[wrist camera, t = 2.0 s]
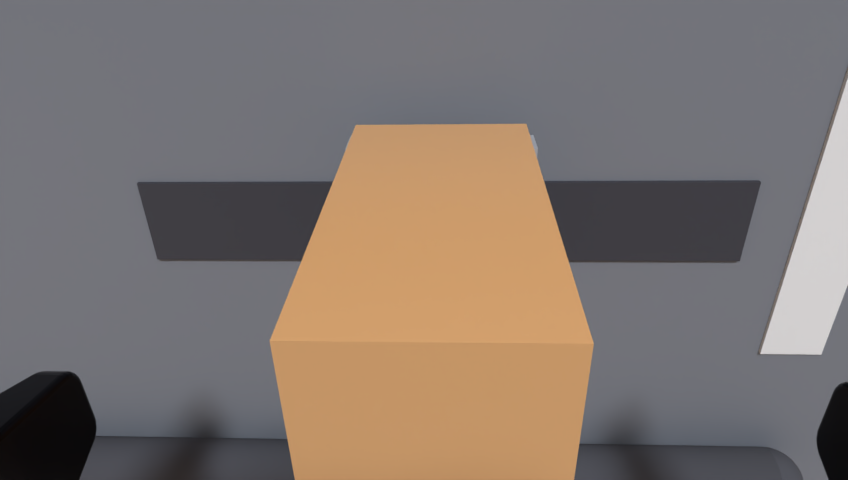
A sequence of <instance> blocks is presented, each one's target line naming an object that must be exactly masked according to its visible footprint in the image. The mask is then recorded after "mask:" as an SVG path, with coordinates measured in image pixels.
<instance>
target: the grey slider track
mask: <svg viewBox="0 0 848 480" xmlns="http://www.w3.org/2000/svg"><path fill="white" fill-rule="evenodd" d="M79 480H295V478H294V472H293V467H292V461H291V456H290V450H289V445H288V439H254V438H192V437H129V436H95V440H94V443H93V446H92V448H91V451H90V453H89V456H88V458H87V461H86V464H85V466H84V469H83V471H82V474H81V477H80V479H79ZM574 480H803V477H802V474H801V471H800V470H799V468H798V466H797V465H796V464H795V463H794V461H793V460H792V459H791V458H789V457H788V456H787V455H785V454H784V453H782V452H780V451H778V450H776V449H772V448H769V447H752V446H690V445H628V444H579V449H578V456H577V463H576V470H575V477H574Z"/></svg>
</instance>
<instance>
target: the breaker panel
mask: <svg viewBox="0 0 848 480" xmlns="http://www.w3.org/2000/svg"><path fill="white" fill-rule="evenodd" d="M412 124H527V127H528V131H529V134H530V135H534V138H535V141H536V144H537V147H538V153H537V160H538V163H539V167H540V170H541V173H542V176H543V180H544V183H545V186H546V189H547V193H548V196H549V199H550V202H551V206H552V209H553V212H554V215H555V219H556V222H557V225H558V229H559V232H560V235H561V238H562V242H563V245H564V248H565V251H566V255H567V258H568V261H569V264H570V268H571V271H572V274H573V277H574V281H575V284H576V287H577V291H578V294H579V297H580V300H581V304H582V307H583V310H584V313H585V317H586V320H587V323H588V326H589V330H590V333H591V336H592V339H593V343H594V346H593V353H592V360H591V367H590V374H589V381H588V387H587V394H586V401H585V408H584V415H583V422H582V429H581V435H580V442H579V444H628V445H690V446H752V447H769V448H772V449H776V450H778V451H780V452H782V453H784V454H785V455H787V456H788V457H789V458H791V459H792V460H793V461H794V463H795V464H796V465H797V466H798V468H799V470H800V471H801V474H802V477H803V480H828V477H827V474H826V472H825V469H824V467H823V464H822V461H821V459H820V456H819V453H818V449H817V442H816V438H817V431H818V428H819V426H820V423H821V421H822V418H823V416H824V413H825V411H826V408H827V406H828V403H829V401H830V398H831V396H832V394H833V391H834V389H835V388H836V387H837V386H838V385H839V384H840V383H843V382H847V381H848V0H0V393H2V392H3V391H5V390H7V389H9V388H10V387H12V386H14V385H15V384H17V383H19V382H21V381H22V380H24V379H26V378H28V377H29V376H31V375H33V374H35V373H37V372H41V371H70V372H73V373H75V374H76V375H77V376H78V377H79V378H80V380H81V382H82V385H83V387H84V390H85V392H86V395H87V397H88V400H89V403H90V405H91V408H92V410H93V413H94V415H95V419H96V425H97V429H96V436H129V437H192V438H254V439H287V434H286V428H285V423H284V417H283V412H282V407H281V401H280V396H279V390H278V385H277V379H276V374H275V368H274V363H273V357H272V352H271V346H270V339H271V336H272V334H273V331H274V329H275V326H276V324H277V321H278V318H279V316H280V313H281V311H282V308H283V306H284V303H285V301H286V298H287V296H288V293H289V291H290V288H291V286H292V283H293V281H294V278H295V276H296V273H297V271H298V268H299V266H300V263H301V261H302V258H303V256H304V253H305V251H306V248H307V246H308V243H309V241H310V238H311V236H312V233H313V231H314V228H315V226H316V223H317V221H318V218H319V216H320V213H321V211H322V208H323V206H324V203H325V201H326V198H327V196H328V193H329V191H330V188H331V186H332V183H333V181H334V178H335V176H336V173H337V171H338V168H339V166H340V163H341V161H342V158H343V156H344V153H345V148H346V146H347V143H348V141H349V138H350V136H351V135H352V133H353V130H354V128H355V125H412Z"/></svg>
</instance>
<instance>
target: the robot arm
mask: <svg viewBox="0 0 848 480" xmlns="http://www.w3.org/2000/svg"><path fill="white" fill-rule="evenodd" d="M96 429H97V425H96V419H95V415H94V413H93V410H92V408H91V405H90V403H89V400H88V397H87V395H86V392H85V390H84V387H83V385H82V382H81V380H80V378H79V377H78V376H77V375H76V374H75V373H73V372H70V371H41V372H37V373H35V374H33V375H31V376H29V377H28V378H26V379H24V380H22V381H21V382H19V383H17V384H15V385H14V386H12V387H10V388H9V389H7V390H5V391H3V392H2V393H0V480H79V479H80V477H81V474H82V471H83V469H84V466H85V464H86V461H87V458H88V456H89V453H90V451H91V448H92V446H93V443H94V440H95V436H96ZM816 442H817V449H818V453H819V456H820V459H821V461H822V464H823V467H824V469H825V472H826V474H827V477H828V480H848V381H847V382H843V383H840V384H839V385H838V386H837V387H836V388H835V389H834V391H833V394H832V396H831V398H830V401H829V403H828V406H827V408H826V411H825V413H824V416H823V418H822V421H821V423H820V426H819V428H818V431H817V438H816Z"/></svg>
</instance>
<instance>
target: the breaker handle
mask: <svg viewBox="0 0 848 480" xmlns="http://www.w3.org/2000/svg"><path fill="white" fill-rule="evenodd" d="M537 153H538V147H537V144H536V141H535V138H534V135H530V134H529V131H528V127H527V124H412V125H355V128H354V130H353V133H352V135H351V136H350V138H349V141H348V143H347V146H346V148H345V153H344V156H343V158H342V161H341V163H340V166H339V168H338V171H337V173H336V176H335V178H334V181H333V183H332V186H331V188H330V191H329V193H328V196H327V198H326V201H325V203H324V206H323V208H322V211H321V213H320V216H319V218H318V221H317V223H316V226H315V228H314V231H313V233H312V236H311V238H310V241H309V243H308V246H307V248H306V251H305V253H304V256H303V258H302V261H301V263H300V266H299V268H298V271H297V273H296V276H295V278H294V281H293V283H292V286H291V288H290V291H289V293H288V296H287V298H286V301H285V303H284V306H283V308H282V311H281V313H280V316H279V318H278V321H277V324H276V326H275V329H274V331H273V334H272V336H271V339H270V346H271V352H272V357H273V363H274V368H275V374H276V379H277V385H278V390H279V396H280V401H281V407H282V412H283V417H284V423H285V428H286V434H287V439H288V445H289V450H290V456H291V461H292V467H293V472H294V478H295V480H574V477H575V470H576V463H577V456H578V449H579V442H580V435H581V429H582V422H583V415H584V408H585V401H586V394H587V387H588V381H589V374H590V367H591V360H592V353H593V346H594V343H593V339H592V336H591V333H590V330H589V326H588V323H587V320H586V317H585V313H584V310H583V307H582V304H581V300H580V297H579V294H578V291H577V287H576V284H575V281H574V277H573V274H572V271H571V268H570V264H569V261H568V258H567V255H566V251H565V248H564V245H563V242H562V238H561V235H560V232H559V229H558V225H557V222H556V219H555V215H554V212H553V209H552V206H551V202H550V199H549V196H548V193H547V189H546V186H545V183H544V180H543V176H542V173H541V170H540V167H539V163H538V160H537Z"/></svg>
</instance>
